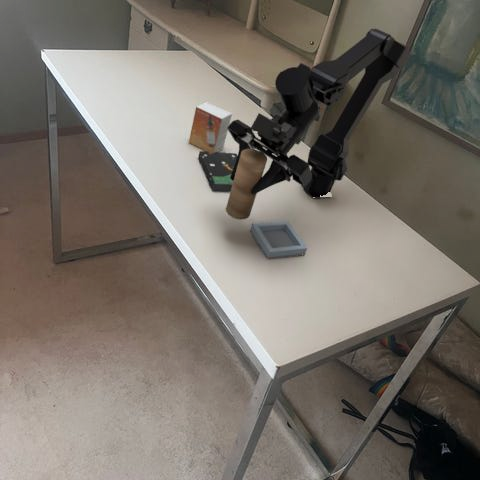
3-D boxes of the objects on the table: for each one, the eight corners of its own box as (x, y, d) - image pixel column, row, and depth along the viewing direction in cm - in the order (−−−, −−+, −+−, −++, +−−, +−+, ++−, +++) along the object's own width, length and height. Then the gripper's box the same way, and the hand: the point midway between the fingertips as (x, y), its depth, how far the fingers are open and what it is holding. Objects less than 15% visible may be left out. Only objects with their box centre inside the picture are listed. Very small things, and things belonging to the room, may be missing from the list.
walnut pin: (244, 203, 95) (260, 149, 87) (253, 218, 92) (271, 163, 84) (222, 204, 93) (237, 148, 85) (231, 220, 90) (247, 163, 82)
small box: (188, 143, 122) (195, 106, 115) (199, 136, 126) (206, 100, 120) (213, 155, 120) (222, 118, 114) (223, 148, 124) (232, 112, 118)
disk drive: (196, 160, 117) (212, 193, 107) (198, 150, 116) (214, 183, 105) (234, 162, 121) (252, 194, 111) (236, 152, 120) (255, 184, 109)
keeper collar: (285, 228, 103) (288, 221, 101) (304, 255, 97) (307, 248, 95) (249, 230, 99) (252, 223, 97) (267, 259, 93) (269, 251, 91)
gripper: (245, 78, 85) (191, 143, 84) (325, 124, 77) (267, 196, 76) (260, 111, 95) (212, 169, 94) (332, 154, 87) (281, 218, 87)
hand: (241, 186), depth 88 cm, fingers closed on walnut pin, 5 cm apart
